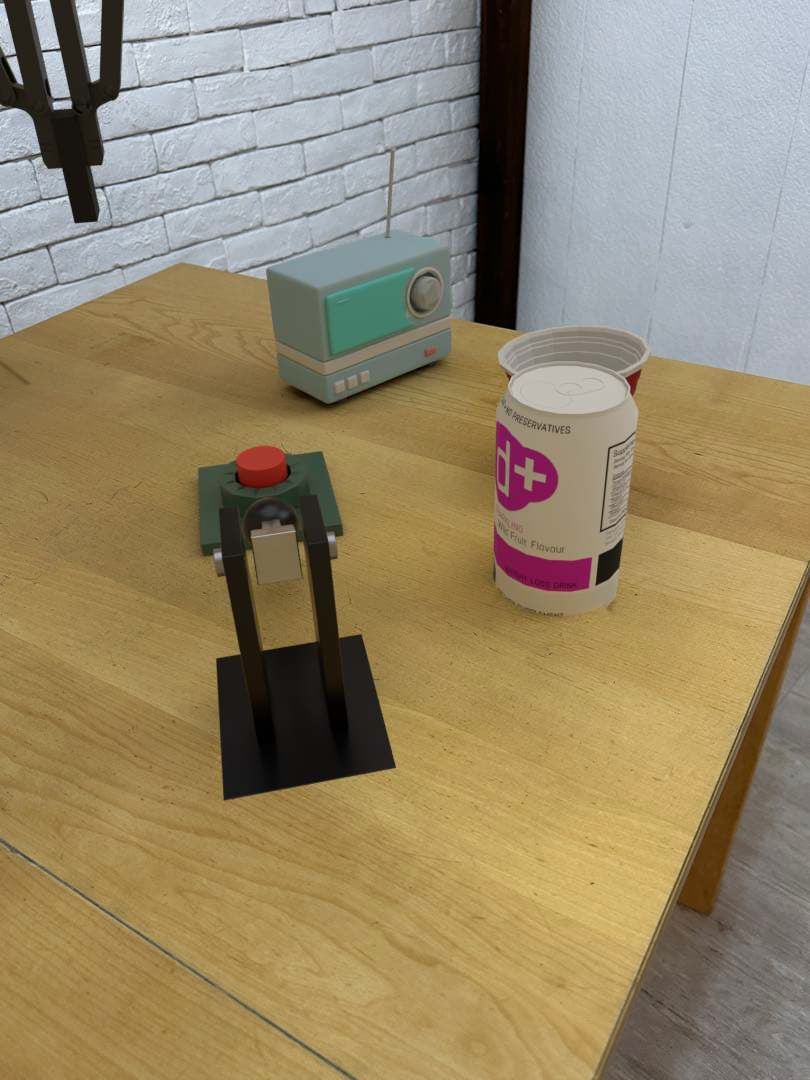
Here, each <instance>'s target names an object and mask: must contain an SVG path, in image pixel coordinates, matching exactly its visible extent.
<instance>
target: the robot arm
mask: <svg viewBox="0 0 810 1080" xmlns="http://www.w3.org/2000/svg"><path fill="white" fill-rule="evenodd" d="M2 1H3V5H4V9H5V14H6V18H7V23H8V26H9V30H10V34H11V35H10V36H11V39H12V42H13V47H14V51H15V56H16V61H17V65H18V68H19V73H20V76H21V80H22V81H21V82H22V83H19V82H18V80H17V78H16V76H15V73H14V71H13V70H12V67H11V65H10V63H9V61H8V59H7V57H6V55H5V52H4V51H3V48H2V46H1V45H0V106H2V107H3V108H13V109H17V110H20V111H23V112H25V113H26V114H28V115H29V116H30V118H31V119H32V122H33V126H34V130H35V135H36V140H37V142H38V143H37V144H38V146H39V152H40V156H41V160H42V162H43V164H44V165H45V167H46V168H47V170H56V169H57V170H58V169H61V171H62V175H63V179H64V184H65V187H66V192H67V196H68V201H69V205H70V210H71V214H72V218H73V219H72V220H73V223H74V225H75V224H84V223H85V224H88V223H98V222H99V216H100V212H101V208H100V205H99V200H98V199H99V198H98V195H97V190H96V186H95V185H96V184H95V181H94V176H93V170H92V167H97V166H103V163H104V158H105V153H106V151H105V147H104V141H103V137H102V131H101V127H100V121H99V118H98V117H99V116H98V109H99V108H100V107H101V106H103V105H105V104H107V103H109V102H114V101H116V100H117V99H118V98H119V96H120V93H121V92H120V91H121V87H122V65H123V45H124V44H123V43H124V20H125V18H124V15H125V0H101V11H100V12H101V14H100V46H99V47H100V48H99V78H98V79H96V80H94V81H92V77H91V74H90V73H91V72H90V68H89V63H88V59H87V54H86V53H87V52H86V49H85V48H86V47H85V44H84V40H83V38H84V37H83V33H82V28H81V23H80V18H79V14H78V8H77V4H76V0H49V4H50V9H51V13H52V14H51V15H52V19H53V23H54V28H55V32H56V37H57V42H58V46H59V50H60V55H61V60H62V64H63V69H64V74H65V78H66V82H67V88H68V92H69V97H70V101H71V106H70V107H71V108H60V109H58V108H57V109H55V108H54V101H55V97H54V96H53V95H52V90H51V85H50V80H49V76H48V72H47V68H46V64H45V58H44V53H43V50H42V49H43V48H42V45H41V40H40V35H39V31H38V27H37V22H36V19H35V14H34V9H33V5H32V0H2Z"/></svg>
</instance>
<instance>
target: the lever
mask: <svg viewBox="0 0 810 1080" xmlns="http://www.w3.org/2000/svg"><path fill="white" fill-rule="evenodd" d="M242 526H243V532H244V535H245V537H246V539H247V541H248V542H249V544H250V545H251V546H252V549H251V552H252V557H253V564H254V570H255V577H256V583H257V584H256V585H257V586H265V585H272V584H279V583H284V582H285V583H286V582H291V581H297V580H303V578H304V575H303V569H302V562H301V556H300V549H299V542H298V541H297V536H298V533H299V526H300V524H299V518H298V515H297V513H296V511H295V509H294V508H293V507H292V506H291V505H290V504H289V503H288V502H286V501H285V500H283V499H280V498H277V497H265V498H262V499H259V500H257V501H255V502H254V503H253V504H252V505H251V506H250V507H249V508H248V509H247V511H246V513H245V515H244V518H243V525H242Z"/></svg>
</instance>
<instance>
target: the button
mask: <svg viewBox="0 0 810 1080" xmlns="http://www.w3.org/2000/svg"><path fill="white" fill-rule="evenodd" d="M285 453H286V452H285V451H284V450H282V449H281V448H279V447H277V446H272V445H259V446H253V447H249V448H247V449H245V450H243V451H241V452H240V453H239V454H238V455H237V456H236V458H235V460H236V464H237V470H238V476H239V481H240V484H241V485H242V486H243V487H249V488H256V489H261V488H268V487H273V486H275V485H278V484H280V483H282V482H284V481H286V479H287V476H288V473H287V466H286V458H285Z"/></svg>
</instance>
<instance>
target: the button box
mask: <svg viewBox="0 0 810 1080" xmlns="http://www.w3.org/2000/svg"><path fill="white" fill-rule="evenodd" d="M284 453H285V458H286V466H287V473H288V476H287V479H286V481H284V482H282V483H280V484H278V485H275V486H273V487H268V488H261V489H256V488H249V487H243V486H242V485H241V484H240V481H239V476H238V470H237V464H236V459H235V460H231V461H230V462H228V463H222V464H216V465H208V466H200V467H198V468H197V480H198V481H197V483H198V505H199V526H200V527H199V532H200V533H199V535H200V547H201V551H202V556H203V557H209V556H213V550H214V549H218V548H221V540H220V525H219V511H218V509H219V508H224V507H231V506H238V507H239V513H240V519H241V525H243V518H244V515H245V513H246V511H247V509H248V508H249V507H250V506H251V505H252V504H253V503H254V502H255V501H257V500H259V499H262V498H265V497H277V498H280V499H283V500H285V501H286V502H288V503H289V504H290V505H291V506H292V507H293V508H294V509H295V511H296V513H297V515H298V518H299V524H300V526H299V533H298V536H297V541H298V543H301V542H303V535H302V527H301V519H300V511H299V503H298V497H300V496H307V495H314V494H317V496H318V500H319V504H320V508H321V512H322V516H323V520H324V525H325V529H326V532H332V531H333V532H334V533H335V538H336V537H342V536H344V527H343V522H342V517H341V515H340V511H339V507H338V504H337V500H336V497H335V493H334V489H333V485H332V482H331V481H332V480H331V478H330V475H329V469H328V467H327V464H326V460H325V456H324V453H323V450H319V451H318V450H317V451H311V452H303V453H297V454H291V453H286V452H284ZM242 530H243V526H242ZM243 536H244V542H245V548H246V551H248V550H249V551H250V550H252V546H251V545H250V544H249V542H248V541H247V539H246V537H245V535H244V532H243Z"/></svg>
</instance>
